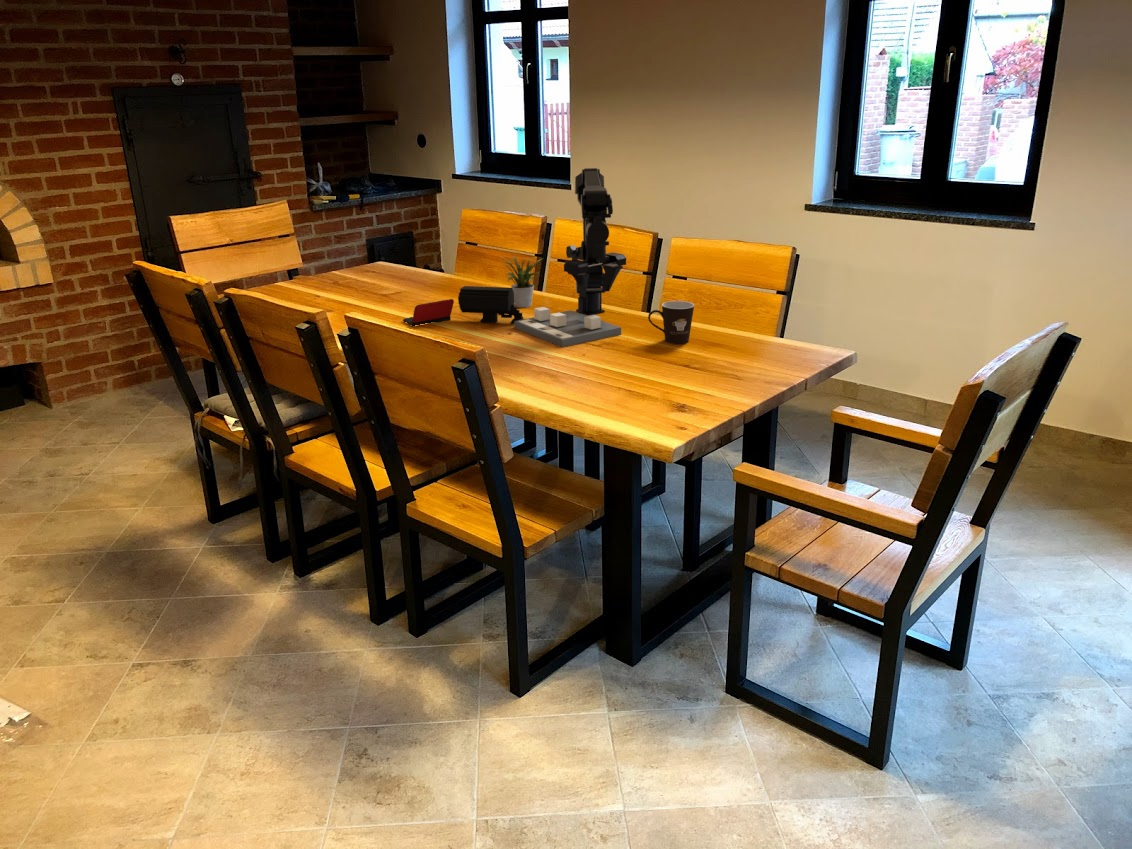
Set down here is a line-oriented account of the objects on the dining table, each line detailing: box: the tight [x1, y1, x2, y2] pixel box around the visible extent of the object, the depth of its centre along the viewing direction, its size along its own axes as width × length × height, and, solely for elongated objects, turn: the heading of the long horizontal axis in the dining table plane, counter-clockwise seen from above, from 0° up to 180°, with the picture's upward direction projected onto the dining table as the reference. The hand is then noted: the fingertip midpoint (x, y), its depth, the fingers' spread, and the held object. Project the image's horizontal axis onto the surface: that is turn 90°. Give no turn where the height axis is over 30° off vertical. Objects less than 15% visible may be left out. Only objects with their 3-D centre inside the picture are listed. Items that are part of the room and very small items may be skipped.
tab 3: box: [584, 314, 602, 330], centre depth 250 cm, size 3×3×3 cm
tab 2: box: [550, 311, 566, 327], centre depth 253 cm, size 3×3×3 cm
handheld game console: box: [402, 298, 455, 327], centre depth 266 cm, size 12×11×7 cm
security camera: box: [457, 285, 524, 325], centre depth 265 cm, size 7×18×10 cm, turn 78°
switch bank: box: [513, 309, 622, 348], centre depth 256 cm, size 20×24×2 cm
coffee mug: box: [647, 300, 695, 345], centre depth 244 cm, size 12×9×10 cm
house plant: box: [501, 253, 544, 309], centre depth 281 cm, size 14×14×16 cm
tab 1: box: [533, 306, 551, 321], centre depth 259 cm, size 3×3×3 cm
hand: (595, 293), depth 252 cm, fingers open, 9 cm apart
